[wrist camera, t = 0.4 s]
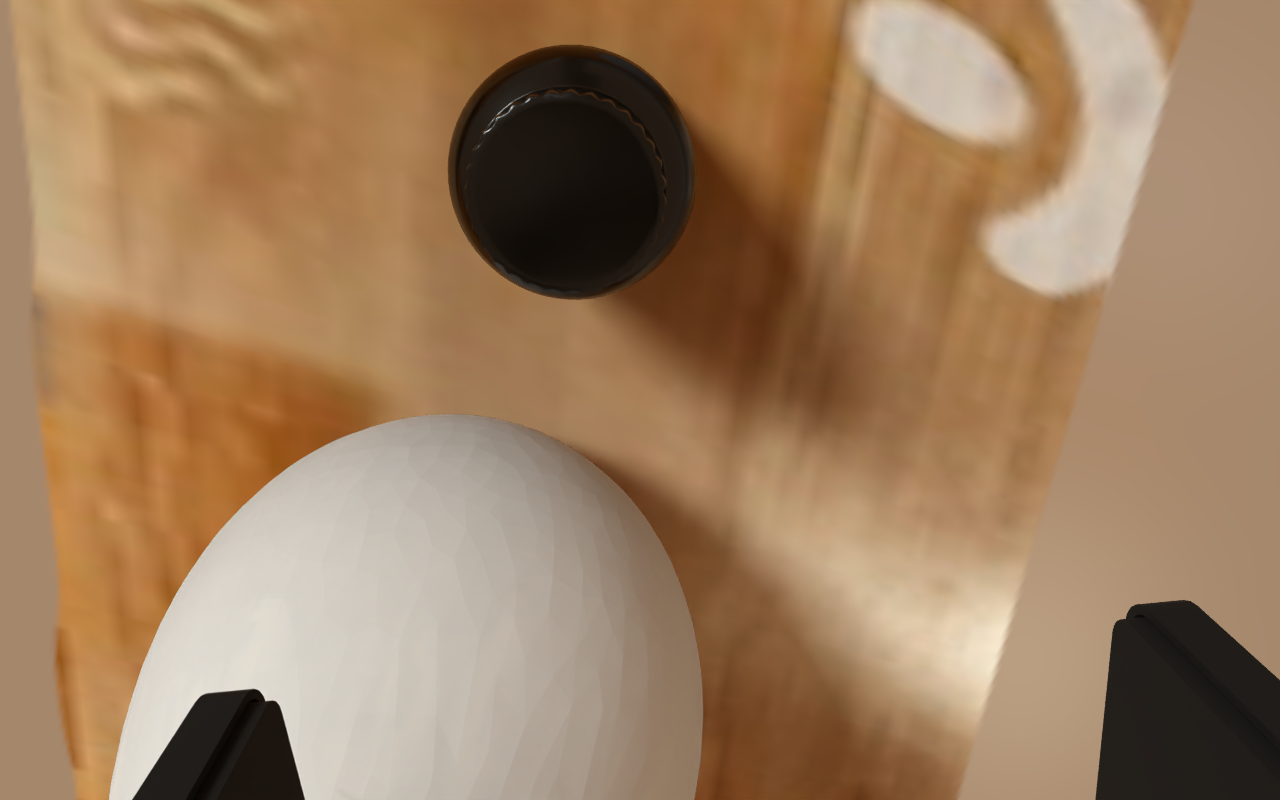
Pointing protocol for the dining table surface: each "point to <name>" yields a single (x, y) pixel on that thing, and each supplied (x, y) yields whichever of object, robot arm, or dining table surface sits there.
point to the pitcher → (440, 625)
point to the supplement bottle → (572, 172)
